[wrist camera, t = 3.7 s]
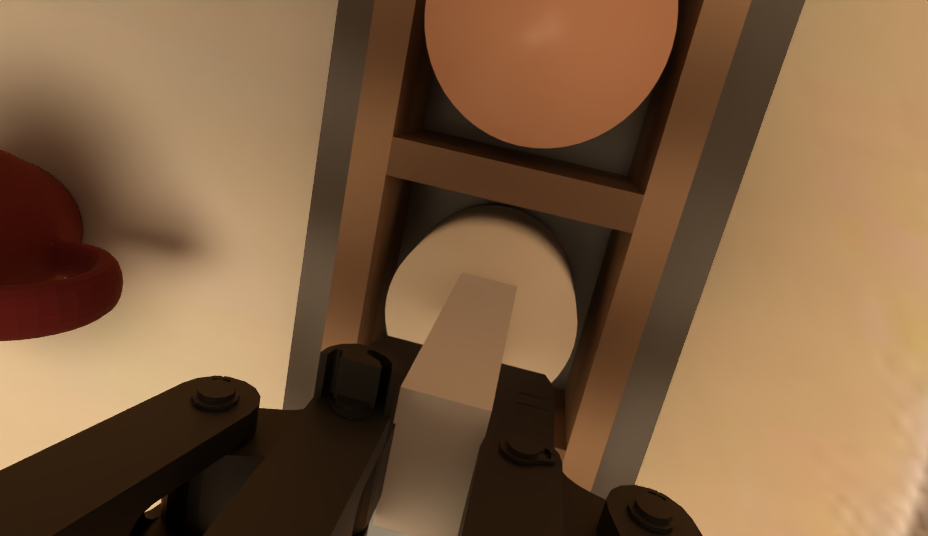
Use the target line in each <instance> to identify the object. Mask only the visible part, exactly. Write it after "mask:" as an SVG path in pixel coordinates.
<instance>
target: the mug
mask: <svg viewBox="0 0 928 536" xmlns="http://www.w3.org/2000/svg"><path fill="white" fill-rule="evenodd" d="M82 234H83V231H82V221H81V216H80V213H79V210H78V207H77V205H76V203H75V201H74V199H73V198H72V196H71V195H70V193H69V192H68V190H67V189H66V188H65V187H64V186H63V185H62V184H61V183H60V182H59V181H58V180H57V179H56V178H54V177H53V176H52V175H50V174H49V173H47V172H46V171H44V170H42V169H40V168H38V167H36V166H34V165H32V164H30V163H28V162H26V161H24V160H22V159H20V158H18V157H16V156H14V155H11V154H9V153H7V152H5V151H2V150H0V341H11V340H23V339H31V338H39V337H44V336H50V335H55V334H59V333H63V332H67V331H71V330H74V329H77V328H80V327H82V326H85V325H88V324H90V323H92V322H94V321H96V320H98V319H99V318H101V317H102V316H104V315H105V314H107V313H108V312H109V311H111V310H112V309H113V308H114V307H115V306H116V304H117V303H118V301H119V298H120V296H121V292H122V286H123V278H122V272H121V269H120V266H119V264H118V261H117V260H116V259H115V258H114V257H113V256H112V255H111V254H110V253H108V252H107V251H105V250H103V249H101V248H98V247H95V246H92V245H88V244H83V243H81V242H82ZM64 277H68V278H66V279H63V278H64Z"/></svg>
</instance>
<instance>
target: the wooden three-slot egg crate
mask: <svg viewBox="0 0 928 536" xmlns="http://www.w3.org/2000/svg"><path fill="white" fill-rule="evenodd" d="M804 2H805V0H678V18H677V28H676V33H675V38H674V42H673V46H672V50H671V52H670V55H669V58H668V61H667V63H666V66H665V68H664V70H663V72H662V73H661V75H660V77H659V79H658V81H657V83H656V84H655V86H654V87H653V89H652V90H651V92H650V93H649V95H648V96H647V97H646V98H645V99H644V100H643V102H642V103H641V104H640V105H639V106H638V107H637V108H636V109H635V110H634V111H633V112H632V113H631V114H630V115H629V116H628V117H627V118H625V119H624V120H623V121H622V122H620V123H619V124H617V125H616V126H615V127H613V128H612V129H610V130H608V131H606V132H605V133H603V134H601V135H599V136H597V137H595V138H592V139H590V140H587V141H584V142H582V143H579V144H574V145H570V146H566V147H558V148H530V147H524V146H518V145H515V144H511V143H508V142H505V141H502V140H500V139H498V138H495V137H493V136H491V135H489V134H487V133H486V132H484V131H483V130H481V129H479V128H478V127H476V126H475V125H474V124H473V123H471V122H470V121H469V120H468V119H467V118H465V117H464V116H463V115H462V114H461V113H460V111H459V110H458V109H457V108H456V107H455V106H454V105H453V104H452V102H451V101H450V99H449V98H448V97H447V95H446V94H445V92H444V91H443V89H442V87H441V85H440V83H439V81H438V79H437V77H436V75H435V72H434V70H433V67H432V64H431V61H430V57H429V53H428V49H427V44H426V36H425V5H426V0H339V2H338V9H337V16H336V24H335V31H334V38H333V46H332V53H331V60H330V68H329V75H328V82H327V89H326V97H325V104H324V111H323V119H322V126H321V133H320V141H319V148H318V155H317V162H316V170H315V177H314V184H313V192H312V199H311V206H310V214H309V221H308V228H307V235H306V243H305V250H304V257H303V265H302V272H301V279H300V286H299V294H298V301H297V308H296V316H295V323H294V330H293V338H292V345H291V352H290V359H289V367H288V374H287V381H286V389H285V396H284V403H283V410H299V409H304V408H305V407H306V406H307V404H308V403H309V402H310V401H311V399H312V398H313V397H314V391H315V384H316V378H317V371H318V365H319V358H320V352H321V351H323V350H325V349H326V348H328V347H330V346H334V345H338V344H362V345H368V346H369V345H370V344H371V343H372V342H374V341H376V340H378V339H381V338H383V337H385V336H388V334H387V329H386V322H385V306H386V298H387V294H388V290H389V286H390V284H391V281H392V279H393V277H394V275H395V273H396V271H397V270H398V268H399V266H400V265H401V264H402V262H403V261H404V260H405V258H406V257H407V256H408V255H409V254H410V253H411V252H412V251H413V249H414V248H415V247H416V246H417V245H418V244H419V243H420V242H421V241H422V240H423V239H424V237H425V236H426V235H427V234H428V233H429V232H430V231H431V230H432V229H433V228H434V227H435V226H436V225H437V224H438V223H440V222H441V221H442V220H444V219H445V218H447V217H448V216H450V215H452V214H454V213H456V212H458V211H461V210H464V209H467V208H471V207H475V206H484V205H496V206H504V207H510V208H513V209H516V210H520V211H522V212H524V213H526V214H529V215H531V216H532V217H534V218H536V219H537V220H539V221H540V222H542V223H543V224H544V225H545V226H546V227H548V228H549V229H550V230H551V231H552V233H553V234H554V235H555V236H556V237H557V238H558V240H559V241H560V243H561V244H562V245H563V247H564V249H565V251H566V253H567V255H568V258H569V261H570V263H571V267H572V272H573V278H574V289H575V300H576V310H577V334H576V339H575V343H574V347H573V350H572V352H571V355H570V358H569V359H568V361H567V363H566V365H565V367H564V368H563V370H562V371H561V372H560V374H559V375H558V376H557V378H556V379H555V380H554V381H553V382H552V383H551V384H552V385H553V387H554V388H555V401H554V404H555V406H554V448H555V450H556V451H557V452H558V453H559V454H560V458H561V461H562V466H563V473H564V474H565V475H566V476H567V477H568V478H569V479H571V480H572V481H573V482H574V483H576V484H577V485H579V486H580V487H582V488H584V489H586V490H587V491H589V492H591V493H593V494H595V495H597V496H599V497H601V498H603V499H605V500H606V498H607V496H608V495H609V493H610V491H611V490H612V489H614V488H616V487H618V486H621V485H634V484H635V481H636V479H637V476H638V473H639V470H640V467H641V464H642V461H643V459H644V456H645V453H646V450H647V447H648V444H649V442H650V439H651V436H652V433H653V430H654V427H655V425H656V422H657V419H658V416H659V413H660V410H661V408H662V405H663V402H664V399H665V396H666V393H667V391H668V388H669V385H670V382H671V379H672V376H673V373H674V371H675V368H676V365H677V362H678V359H679V356H680V354H681V351H682V348H683V345H684V342H685V339H686V337H687V334H688V331H689V328H690V325H691V322H692V320H693V317H694V314H695V311H696V308H697V305H698V303H699V300H700V297H701V294H702V291H703V288H704V286H705V283H706V280H707V277H708V274H709V271H710V268H711V266H712V263H713V260H714V257H715V254H716V251H717V249H718V246H719V243H720V240H721V237H722V234H723V232H724V229H725V226H726V223H727V220H728V217H729V215H730V212H731V209H732V206H733V203H734V200H735V198H736V195H737V192H738V189H739V186H740V183H741V180H742V178H743V175H744V172H745V169H746V166H747V163H748V161H749V158H750V155H751V152H752V149H753V146H754V144H755V141H756V138H757V135H758V132H759V129H760V127H761V124H762V121H763V118H764V115H765V112H766V110H767V107H768V104H769V101H770V98H771V95H772V93H773V90H774V87H775V84H776V81H777V78H778V75H779V73H780V70H781V67H782V64H783V61H784V58H785V56H786V53H787V50H788V47H789V44H790V41H791V39H792V36H793V33H794V30H795V27H796V24H797V22H798V19H799V16H800V13H801V10H802V7H803V5H804Z"/></svg>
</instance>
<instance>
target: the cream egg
mask: <svg viewBox="0 0 928 536" xmlns="http://www.w3.org/2000/svg"><path fill="white" fill-rule="evenodd" d="M461 273H465V274H469V275H473V276H477V277H481V278H485V279H489V280H493V281H497V282H501V283H505V284H509V285H513V286H517V290H516V295H515V300H514V304H513V309H512V314H511V319H510V324H509V329H508V334H507V339H506V344H505V349H504V353H503V358H502V364H506V365H510V366H514V367H518V368H522V369H526V370H529V371H533V372H537V373H541V374H545V375H546V377H547V378H548V379H549V381H550V382H551V383H552V382H553V381H554V380H555V379H556V378H557V376H558V375H559V374H560V372H561V371H562V370H563V368H564V367H565V365H566V363H567V361H568V359H569V358H570V355H571V352H572V350H573V347H574V343H575V339H576V334H577V310H576V300H575V289H574V278H573V272H572V267H571V263H570V261H569V258H568V255H567V253H566V251H565V249H564V247H563V245H562V244H561V243H560V241H559V240H558V238H557V237H556V236H555V235H554V234H553V233H552V231H551V230H550V229H549V228H548V227H546V226H545V225H544V224H543V223H542V222H540V221H539V220H537V219H536V218H534V217H532V216H531V215H529V214H526V213H524V212H522V211H520V210H516V209H513V208H510V207H504V206H496V205H484V206H475V207H471V208H467V209H464V210H461V211H458V212H456V213H454V214H452V215H450V216H448V217H447V218H445V219H444V220H442V221H441V222H440V223H438V224H437V225H436V226H435V227H434V228H433V229H432V230H431V231H430V232H429V233H428V234H427V235H426V236H425V237H424V239H423V240H422V241H421V242H420V243H419V244H418V245H417V246H416V247H415V248H414V249H413V251H412V252H411V253H410V254H409V255H408V256H407V257H406V258H405V260H404V261H403V262H402V264H401V265H400V266H399V268H398V270H397V271H396V273H395V275H394V277H393V279H392V281H391V284H390V286H389V290H388V294H387V298H386V306H385V322H386V329H387V334H388V336H392V337H395V338H399V339H403V340H407V341H411V342H415V343H419V344H422V345H423V344H424V342H425V340H426V338H427V336H428V335H429V333H430V331H431V329H432V327H433V325H434V323H435V322H436V320H437V318H438V316H439V314H440V312H441V310H442V308H443V307H444V305H445V303H446V301H447V299H448V297H449V295H450V293H451V292H452V290H453V288H454V286H455V284H456V282H457V280H458V278H459V277H460V275H461Z"/></svg>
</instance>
